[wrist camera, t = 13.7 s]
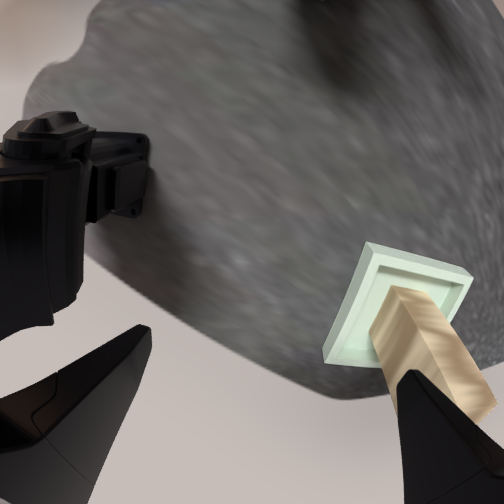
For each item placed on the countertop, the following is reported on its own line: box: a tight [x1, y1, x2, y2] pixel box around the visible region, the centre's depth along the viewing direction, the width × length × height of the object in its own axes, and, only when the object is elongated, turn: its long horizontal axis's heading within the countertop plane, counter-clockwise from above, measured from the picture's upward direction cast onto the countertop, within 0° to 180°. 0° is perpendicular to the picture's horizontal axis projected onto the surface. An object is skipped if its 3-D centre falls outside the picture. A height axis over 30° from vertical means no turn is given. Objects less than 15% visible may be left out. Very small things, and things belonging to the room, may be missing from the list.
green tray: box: [322, 242, 473, 368], centre depth 21 cm, size 11×11×2 cm
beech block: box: [368, 285, 497, 425], centre depth 16 cm, size 4×5×13 cm
